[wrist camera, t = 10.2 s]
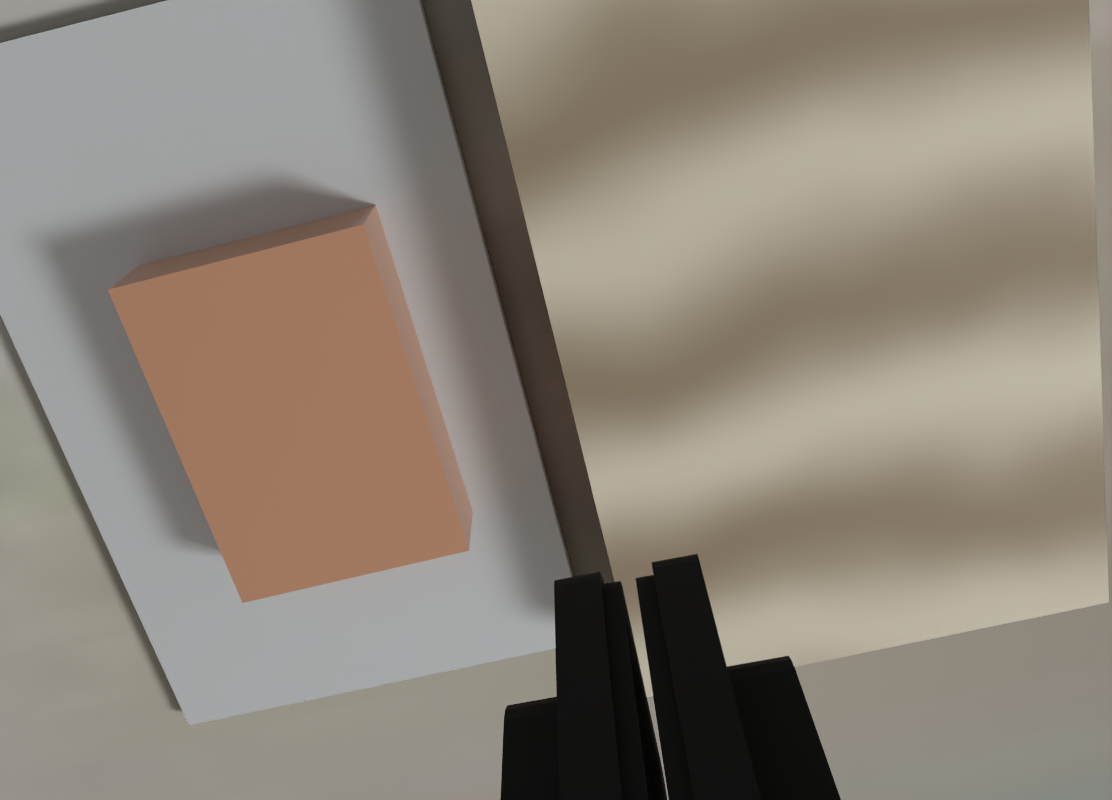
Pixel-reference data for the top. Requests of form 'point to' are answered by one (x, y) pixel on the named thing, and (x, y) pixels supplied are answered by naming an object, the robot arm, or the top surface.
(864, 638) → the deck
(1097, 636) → the top surface
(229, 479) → the tile
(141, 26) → the mat
